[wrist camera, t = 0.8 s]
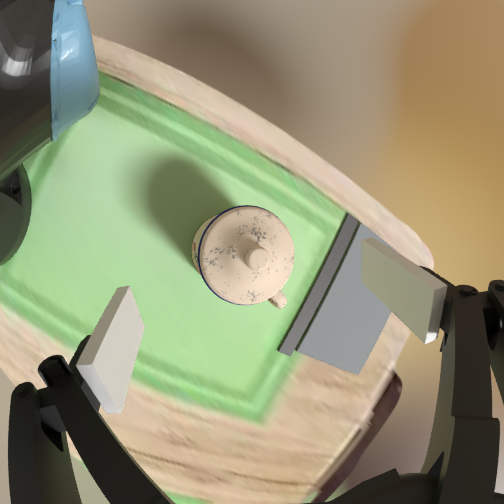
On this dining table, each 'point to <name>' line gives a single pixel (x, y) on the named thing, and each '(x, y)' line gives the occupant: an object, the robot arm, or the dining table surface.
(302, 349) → the slate mat
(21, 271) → the dining table surface
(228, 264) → the teacup with lid
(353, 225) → the black line strip
